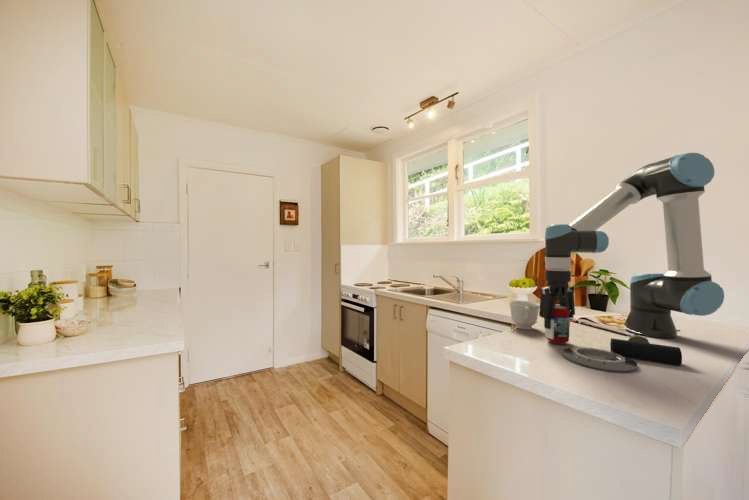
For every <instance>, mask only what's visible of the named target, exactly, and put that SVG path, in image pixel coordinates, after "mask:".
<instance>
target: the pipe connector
mask: <svg viewBox="0 0 749 500" xmlns="http://www.w3.org/2000/svg"><path fill="white" fill-rule="evenodd" d="M628 337H629V339H618V338H610V352H613V353H617V354H619V355H622V356H625V357H628V358H630V359H634V360H635V359H636V360H640V361H641V360H642V361H648V362H653V363H660V364H668V365H673V366H679V367H680V366H681V365H682V363H683V353H682V351H681V348H680V346H679V347H678V346H671V345H663V344H657V343H650V342H649V340H648V338H647V337H644V336H642V335H629V336H628Z"/></svg>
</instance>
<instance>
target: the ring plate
mask: <svg viewBox="0 0 749 500" xmlns="http://www.w3.org/2000/svg"><path fill="white" fill-rule="evenodd" d="M562 356H563V357H564V358H565V359H566V360H568V361H569V362H571V363H574V364H576V365H579V366H581V367H584V368H585V367H586V368H588V369H589V368H590V369H594V370H597V371H601V372H602V371H603V372H611V373H621V374H623V373H633V372H635V371H637V370H638V363H637V362H636V361H635V360H633V358H628V357H625V356H622V355H619V354H617V353H613V352H611V350H610V351H609V350H605V349H600V348H595V347H585V346H584V347H583V346H582V347H581V346H580V347H578V346H577V347H567V348H564V349H563V351H562Z"/></svg>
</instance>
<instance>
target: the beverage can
mask: <svg viewBox="0 0 749 500" xmlns="http://www.w3.org/2000/svg"><path fill="white" fill-rule="evenodd" d="M548 315H549V314H548ZM552 319H553V320H554V339H550V338H546V340H548V341H549V342H551V343H554V344H566V343H568V342H569V341H570V326H569V311H568V310H567V307H565V306H561V305H560V304H556V305H555V309H554V313H553V316H552Z"/></svg>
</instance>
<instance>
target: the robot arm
mask: <svg viewBox="0 0 749 500" xmlns="http://www.w3.org/2000/svg"><path fill="white" fill-rule="evenodd" d="M714 177H715V168H714V165H713V162H712V161H711V160H710V159H709V158H708V157H706V156H705V155H704V154H701V153H700V152H687V153H683V154H677V155H674V156H671V157H669V158H665V159H662V160H659V161H655V162H652V163H648V164H646V165H644V166H642V167H641V168H639V169H637V170H636V171H634V172H632V173H631V174H630V175H628V176H627V177H626V178H624V179H622V181H620V182H619V183H618V184H617V185H616V186H615V187H614V189H613V191H612V192H611V193H609V194H608V195H606V196H605V197H603V199H601V200H600V201H599V202H598V203H596V204H594V206H592V207H591V208H589V209H588V210H586V211H585V212H584V213H583V214H582V215H581V216H579V217H577V218H576V219H575V220H574V221H572V222H571V223H570V224H566V223H565V224H562V223H561V224H560V223H559V224H557V223H556V224H550V225H548V226H546V228H545V233H544V234H545V235H544V242H545V244H544V245H545V246H544V247H545V248H544V249H545V251H544V252H545V258H544V259H545V260H544V261H545V262H544V263H545V265H544V266H545V272H544V280H545V281H546V282H547V284H546V286H544V287H540V291H539V292H540V302H539V304H540V307H539V311H538V315H539V317H541V318H543V320H544V338H546V339H547V338H550V339H554V320H553V319H552V316H553V313H554V309H555V305H557V301H558V303H559V305H561V306H565V307H567V310H568V311H569V327H571V319H572V318H574V316H575V315H576V309H575V307H576V306H575V287H574V286H571V285H570V286H569V284H568V283H569V282H571V280H572V276H571V275H572V272H571V271H570V270H571V269H572V253H580V254H581V253H584V254H586V253H587V254H588V253H589V254H590V253H591V254H595V253H603V252H605V251H606V250H607V248H608V247H609V244H610V243H609V242H610V241H609V236H608V234H607V233H606V232H604V231H602V230H598V229H600V228H601V227H602V226H603V225H605V224H606V223H608V222H609V221H610V220H612V219H613V218H614V217H616V216H617V215H618V214H620V212H622V211H623V210H625V209H626V208H628V207H629V206H630V205H635V204H637V203H639V202H640V201H642V200H644V199H646V198H649V197H651V196H655V197H656V199H657V200H659V201H660V202H662V208H663V210H662V211H663V220H664V222H663V223H664V233H665V234H664V235H665V246H666V255H667V256H666V259H667V270H666V271H665V272H664V273H636V274H633V275H632V276H631V277H630V283H629V285H630V286H629V288H630V293H629V294H630V295H629V296H630V297H629V298H630V300H629V302H630V304H629V305H630V311H629V312H628V315H627V317H626V319H625V322H624V324H625V326H626V327H627V328H629V329H631V330H634V331H636V332H640V333H642V334H643V335H642V336H643V337H644V336H645V337H649V338H658V339H659V338H660V339H676V338H677V337H678V330H677V328H676V325H675V322H674V320H673V318H672V311H673V312H678V313H682V314H685V315H690V316H692V315H693V316H700V317H703V316H704V317H705V316H709V315H712V314H714V313H716V312H717V310H718V309H721V307H722V305H723V303H724V300H725V292H724V288H722V287H721V285H720V284H718V283H717V282H715V281H712V274H711V273H709V272H708V271H706V269H705V267H704V265H705V264H704V252H703V243H702V241H703V240H702V228H701V216H700V214H701V213H700V203H699V201H700V200H699V198H700V197H701V196H702V195H703V194H704V193H705V191H706V190H705V187H706V186H707V185H708V184H709V183H711V182H712V179H713V178H714ZM548 314H549V315H548Z"/></svg>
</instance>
